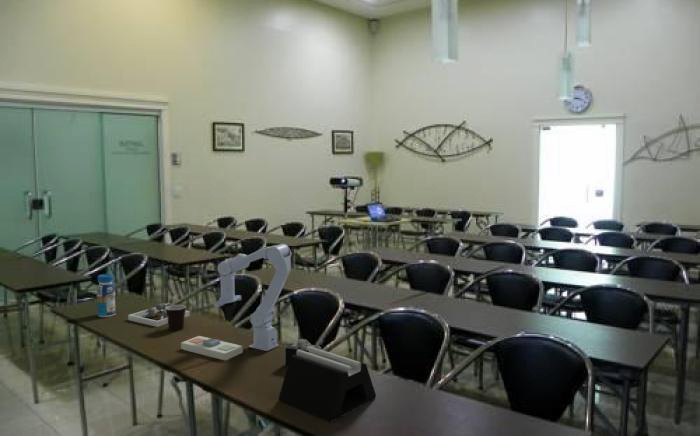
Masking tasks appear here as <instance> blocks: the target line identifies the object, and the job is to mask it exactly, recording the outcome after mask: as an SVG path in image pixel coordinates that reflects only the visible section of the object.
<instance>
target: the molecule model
mask: <svg viewBox="0 0 700 436" xmlns="http://www.w3.org/2000/svg"><path fill="white" fill-rule="evenodd" d="M167 306H171V305H170V302H167V303H165V302H161V303H157V304H156V305H155V307H156V308H154V307H149V308H148V309H146V310H147V311H146V312H145V314H144V315H143V318H151V317H152V315H154V314H155V313H154V312H155V309H157V310H161V311H160V312H161V313H160V314H161V315H160V316H161V317H160V320H161V319H164V318H167V313H166V310H164V309H165V308H166V307H167ZM153 308H154V309H153ZM163 310H164V311H163Z"/></svg>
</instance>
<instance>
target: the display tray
mask: <svg viewBox="0 0 700 436" xmlns="http://www.w3.org/2000/svg"><path fill="white" fill-rule="evenodd" d="M152 308H153V309H154V308H156V306H155V307H152ZM147 310H148V309H144V310H141V311H138V312H134V313H130V314H127V320H128V321H131V322H135V323H139V324H144V325H148V326H151V327H152V326H153V327H156V328H157V327H160V326H165V325H167V324H168V319H167V317H163V319H161V318H160V319H159V320H155V319H150V318H148V317H144V316H143V315H144V314H145V312H146V311H147ZM164 310H166V308H165V309H164ZM164 310H163V311H164ZM159 312H162V311H161V310H157V309H155V312H154V314H156V313H159ZM190 314H191V312H190V310H186V309H185V317H186V318H188V316H189V317H190V316H191V315H190Z"/></svg>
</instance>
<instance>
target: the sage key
mask: <svg viewBox="0 0 700 436" xmlns="http://www.w3.org/2000/svg"><path fill="white" fill-rule="evenodd" d="M233 348H235V347H234V346H230V345H224V346H221V347H219V348H218V349H220V350H224V351H228V350H231V349H233Z"/></svg>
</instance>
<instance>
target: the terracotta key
mask: <svg viewBox="0 0 700 436" xmlns="http://www.w3.org/2000/svg"><path fill="white" fill-rule="evenodd" d="M194 338H195V337H194ZM203 341H206V340H205V339H201V338H195V339H193V340H190V341H189V342H192V343H196V344H198V343H201V342H203Z"/></svg>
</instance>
